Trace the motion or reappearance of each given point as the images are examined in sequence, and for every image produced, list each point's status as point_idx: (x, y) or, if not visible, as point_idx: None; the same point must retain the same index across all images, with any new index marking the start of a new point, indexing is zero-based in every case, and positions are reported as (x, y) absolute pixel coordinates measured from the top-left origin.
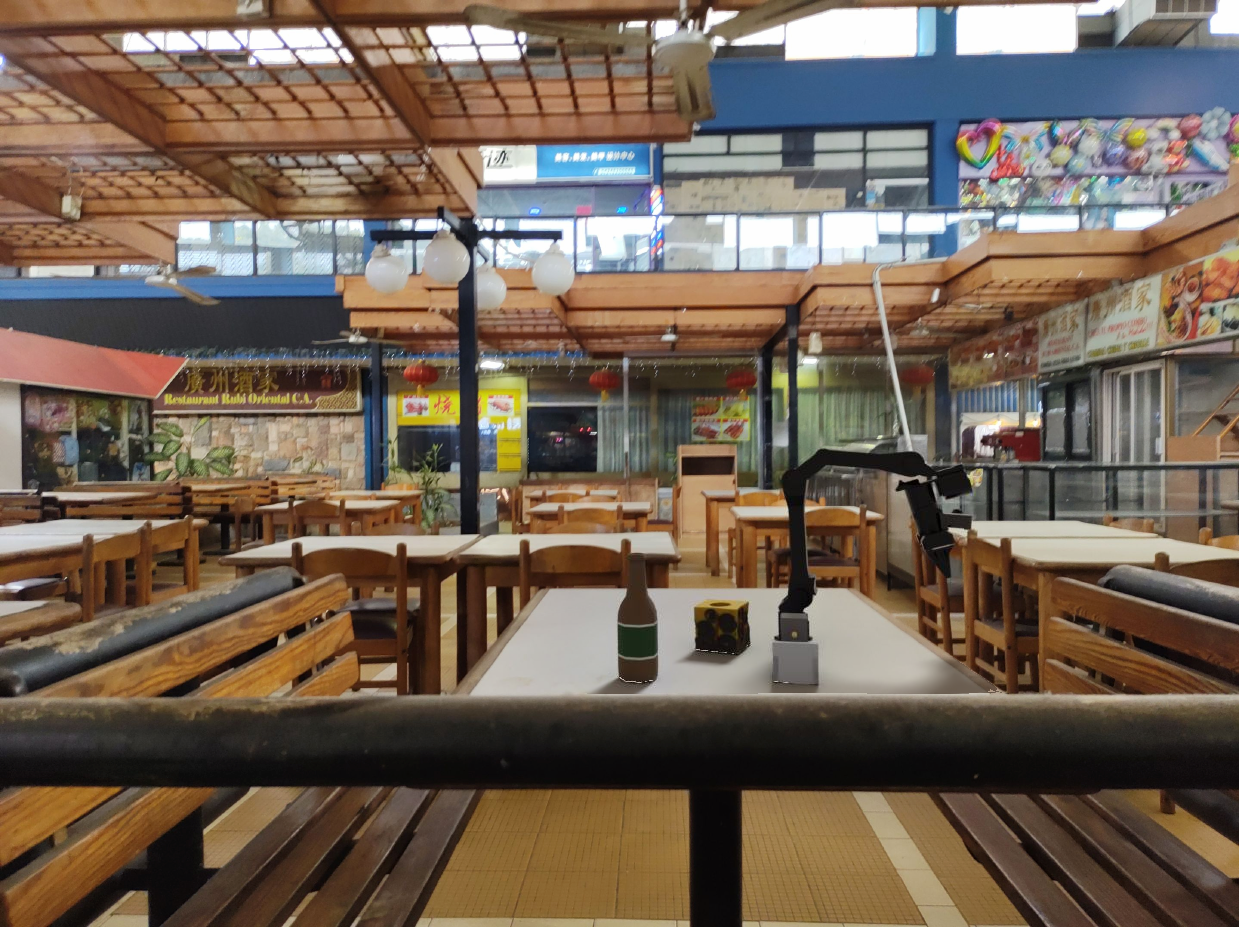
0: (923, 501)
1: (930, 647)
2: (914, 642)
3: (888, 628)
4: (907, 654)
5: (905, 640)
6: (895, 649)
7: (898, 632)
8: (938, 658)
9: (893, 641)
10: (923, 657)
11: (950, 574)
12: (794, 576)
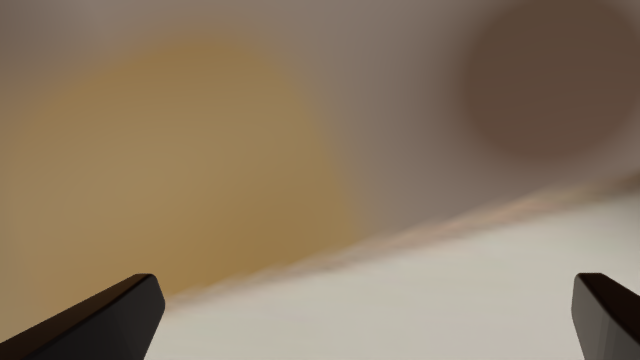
0: None
1: (397, 236)
2: (336, 284)
3: (158, 350)
4: (539, 321)
5: (316, 311)
6: (469, 355)
7: (204, 324)
8: (573, 219)
9: (345, 351)
10: (572, 270)
11: (627, 293)
12: None
